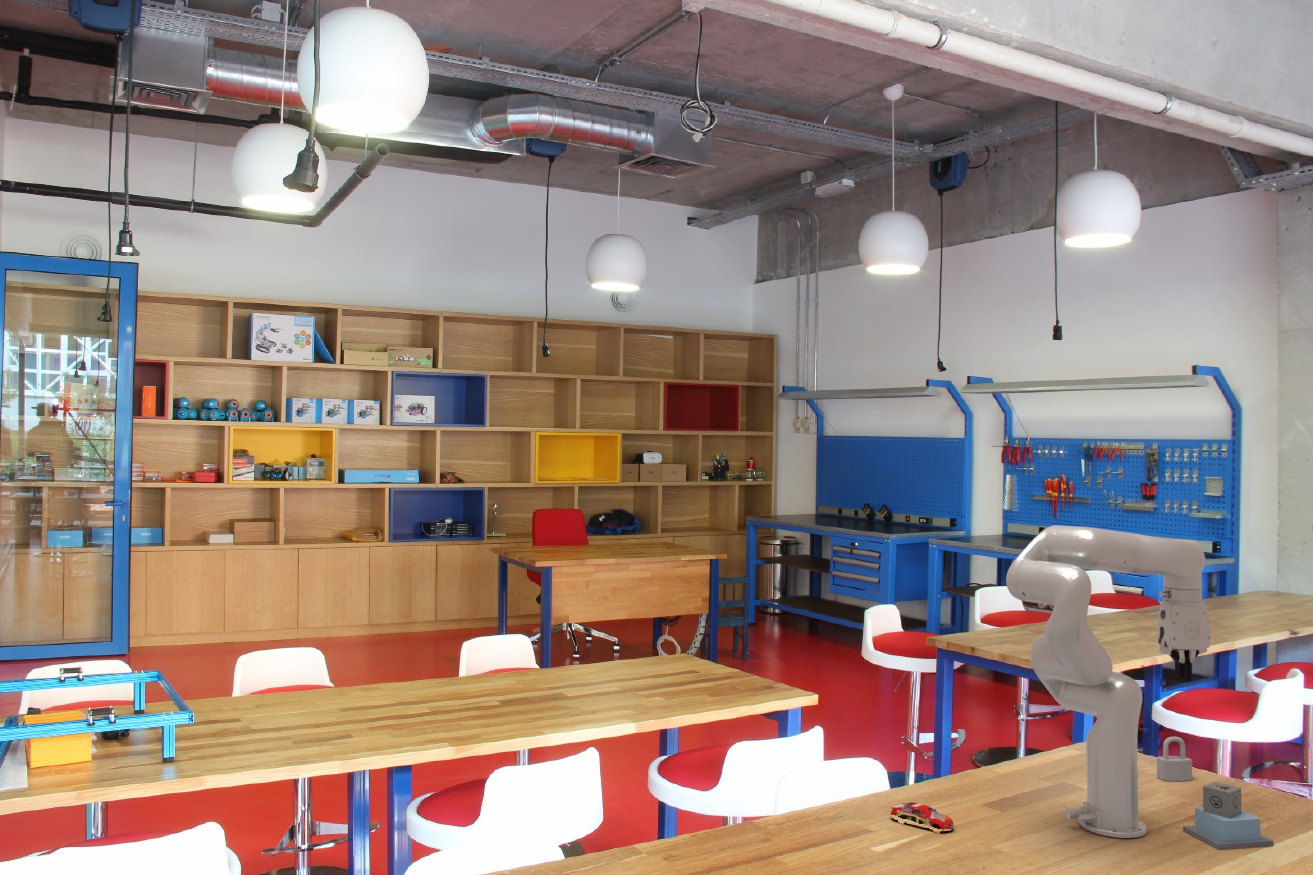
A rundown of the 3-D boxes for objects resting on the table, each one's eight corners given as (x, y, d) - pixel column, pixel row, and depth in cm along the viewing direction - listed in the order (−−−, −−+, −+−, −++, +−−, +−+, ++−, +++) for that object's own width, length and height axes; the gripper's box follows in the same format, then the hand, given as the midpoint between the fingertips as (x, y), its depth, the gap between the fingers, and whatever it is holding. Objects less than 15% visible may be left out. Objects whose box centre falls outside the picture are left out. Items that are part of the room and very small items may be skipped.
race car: (958, 830, 206) (958, 810, 206) (946, 837, 202) (946, 817, 202) (900, 814, 215) (900, 795, 215) (887, 821, 211) (887, 802, 211)
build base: (1218, 849, 195) (1218, 823, 195) (1183, 831, 204) (1182, 806, 205) (1273, 846, 197) (1273, 820, 197) (1236, 827, 206) (1235, 803, 207)
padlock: (1165, 782, 236) (1164, 739, 236) (1155, 777, 240) (1154, 734, 240) (1194, 781, 237) (1193, 738, 237) (1183, 776, 241) (1183, 734, 241)
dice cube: (1229, 818, 197) (1229, 792, 198) (1203, 811, 201) (1203, 786, 202) (1241, 813, 200) (1241, 788, 201) (1215, 806, 204) (1215, 781, 205)
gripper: (1162, 599, 216) (1164, 685, 216) (1225, 597, 219) (1226, 682, 218) (1140, 594, 224) (1141, 678, 223) (1201, 593, 226) (1202, 675, 226)
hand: (1183, 680), depth 221 cm, fingers closed
